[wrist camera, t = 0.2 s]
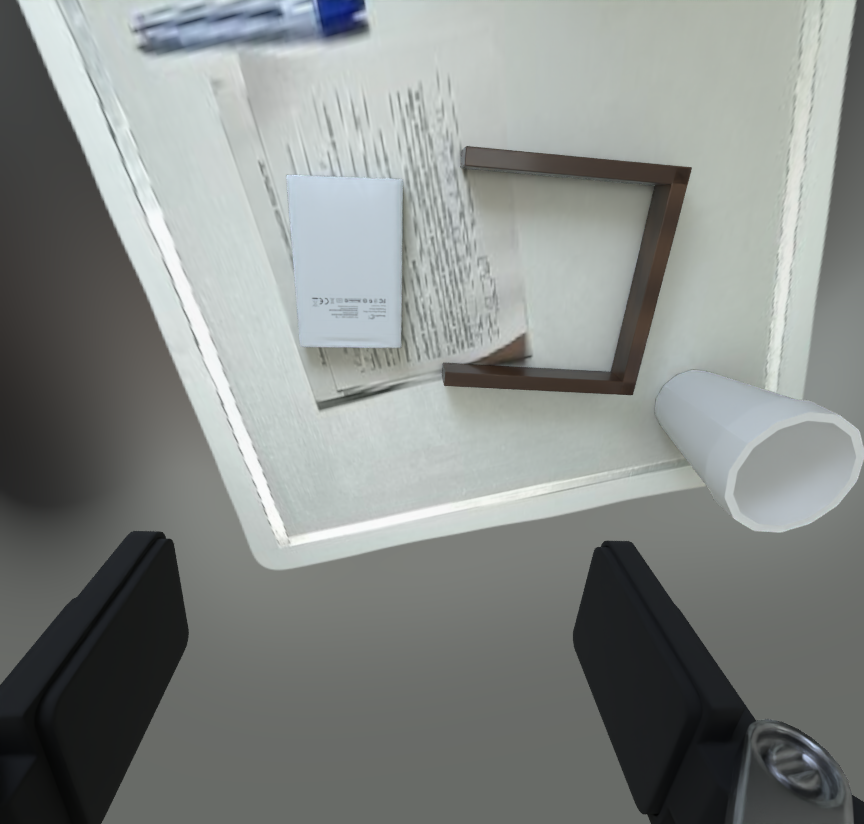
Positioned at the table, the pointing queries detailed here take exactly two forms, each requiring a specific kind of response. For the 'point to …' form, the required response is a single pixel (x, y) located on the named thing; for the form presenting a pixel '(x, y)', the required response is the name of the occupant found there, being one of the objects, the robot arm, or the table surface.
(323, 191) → the hard drive
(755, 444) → the foam cup
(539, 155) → the dock
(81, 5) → the table surface
